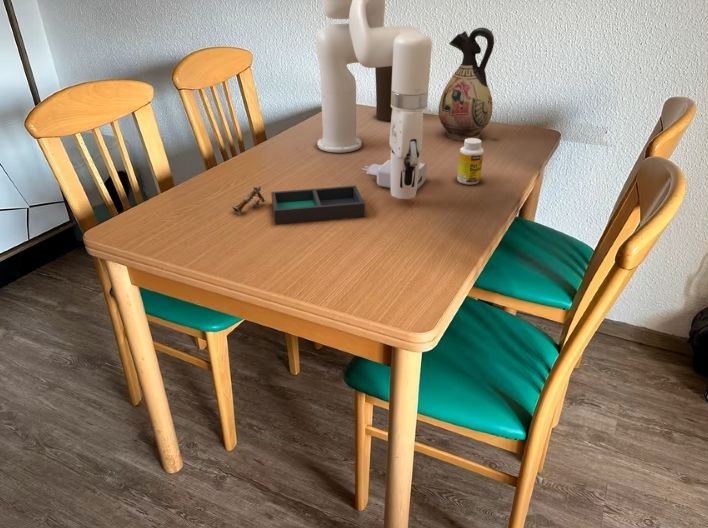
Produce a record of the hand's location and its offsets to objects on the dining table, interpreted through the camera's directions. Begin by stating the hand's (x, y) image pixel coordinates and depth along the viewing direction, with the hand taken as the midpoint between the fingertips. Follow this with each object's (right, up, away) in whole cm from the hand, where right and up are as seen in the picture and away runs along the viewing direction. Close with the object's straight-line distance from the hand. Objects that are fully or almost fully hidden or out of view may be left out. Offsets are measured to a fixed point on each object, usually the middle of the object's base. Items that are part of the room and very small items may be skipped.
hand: (404, 181), depth 128 cm
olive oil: (+1, +33, +58) cm, 67 cm away
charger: (-2, +2, +13) cm, 13 cm away
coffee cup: (0, -2, +2) cm, 3 cm away
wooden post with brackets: (-35, -6, 0) cm, 35 cm away
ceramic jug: (+22, +22, +42) cm, 52 cm away
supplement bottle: (+17, +3, +13) cm, 22 cm away
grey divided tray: (-19, -7, -1) cm, 21 cm away
